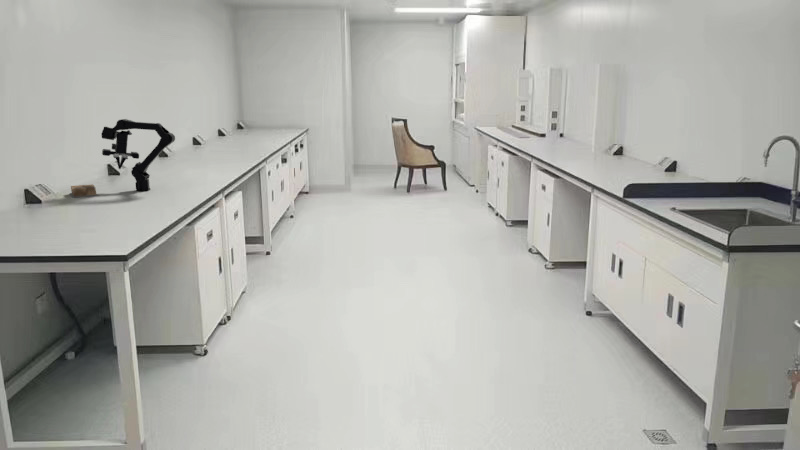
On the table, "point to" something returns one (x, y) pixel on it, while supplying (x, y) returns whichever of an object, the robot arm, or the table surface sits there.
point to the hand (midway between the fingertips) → (119, 168)
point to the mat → (80, 196)
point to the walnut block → (83, 190)
